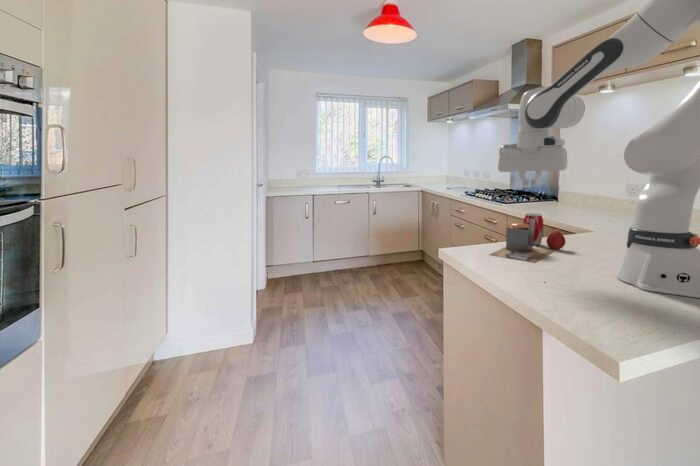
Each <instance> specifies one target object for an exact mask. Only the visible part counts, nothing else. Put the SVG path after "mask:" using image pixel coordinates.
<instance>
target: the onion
mask: <svg viewBox="0 0 700 466" xmlns="http://www.w3.org/2000/svg"><path fill="white" fill-rule="evenodd" d="M546 245H547V247H549V249H551V250H555V251H556V250H561V249H562V248H563V247H565V245H566V238H565V237H564V235H563V234H562V233H561V232H560V229H556V230H555V231H553V232H552V233H550V234H549V235H548V236H547V238H546Z"/></svg>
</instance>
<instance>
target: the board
mask: <svg viewBox="0 0 700 466" xmlns="http://www.w3.org/2000/svg"><path fill="white" fill-rule="evenodd" d="M511 251H513V250H506V246H505V247H503V248H500V249H498V250H496V251H494V252H492V253H489V254H488V256H491V257H498V258H504V259H507V260H508V259H510V260H514V261H515V260H516V261H520V262H521V261H522V262H527V263H533V264H537V263H539V262H540V261H541V260H543V259H545V258H546V257H548V256H550V255H551V254H553V253H555V251H554V250H548V249H541V248H535V247H533V249H532V250H531V251H529V252H527V253H526V252H519V251H515V252H516V253H522V254H528V255H532V258H530V259H528V260H527V261H526V260H520V259H515V258H510V257H506V254H507V253H509V252H511Z"/></svg>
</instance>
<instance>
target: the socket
mask: <svg viewBox="0 0 700 466" xmlns="http://www.w3.org/2000/svg"><path fill="white" fill-rule="evenodd" d="M533 238H534V228H531V227H529V229H515V228H511V226H508V227H507V228H506V240H505V241H506V243H505V244H506V245H505V247H506V250H513V251H519V252H526V253H527V252H529V251H531V250H532V249H533V248H534V246H533Z"/></svg>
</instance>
